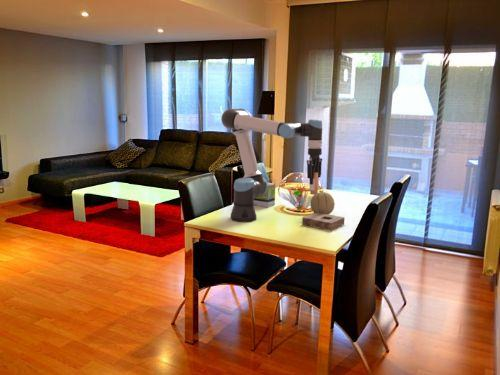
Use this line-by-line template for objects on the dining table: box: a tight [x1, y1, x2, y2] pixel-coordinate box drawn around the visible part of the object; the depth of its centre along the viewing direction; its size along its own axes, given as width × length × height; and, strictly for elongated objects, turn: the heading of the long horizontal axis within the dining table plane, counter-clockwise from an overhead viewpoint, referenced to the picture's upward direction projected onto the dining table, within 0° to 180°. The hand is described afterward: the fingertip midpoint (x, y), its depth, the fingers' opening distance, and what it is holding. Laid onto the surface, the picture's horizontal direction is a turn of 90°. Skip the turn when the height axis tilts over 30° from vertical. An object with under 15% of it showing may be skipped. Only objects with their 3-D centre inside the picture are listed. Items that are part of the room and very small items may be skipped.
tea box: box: [254, 182, 276, 208], centre depth 287 cm, size 15×10×15 cm
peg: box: [309, 172, 319, 196], centre depth 241 cm, size 4×4×12 cm
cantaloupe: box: [309, 190, 336, 215], centre depth 262 cm, size 15×15×15 cm
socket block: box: [301, 212, 346, 231], centre depth 244 cm, size 18×16×4 cm
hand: (314, 189), depth 242 cm, fingers closed on peg, 4 cm apart
